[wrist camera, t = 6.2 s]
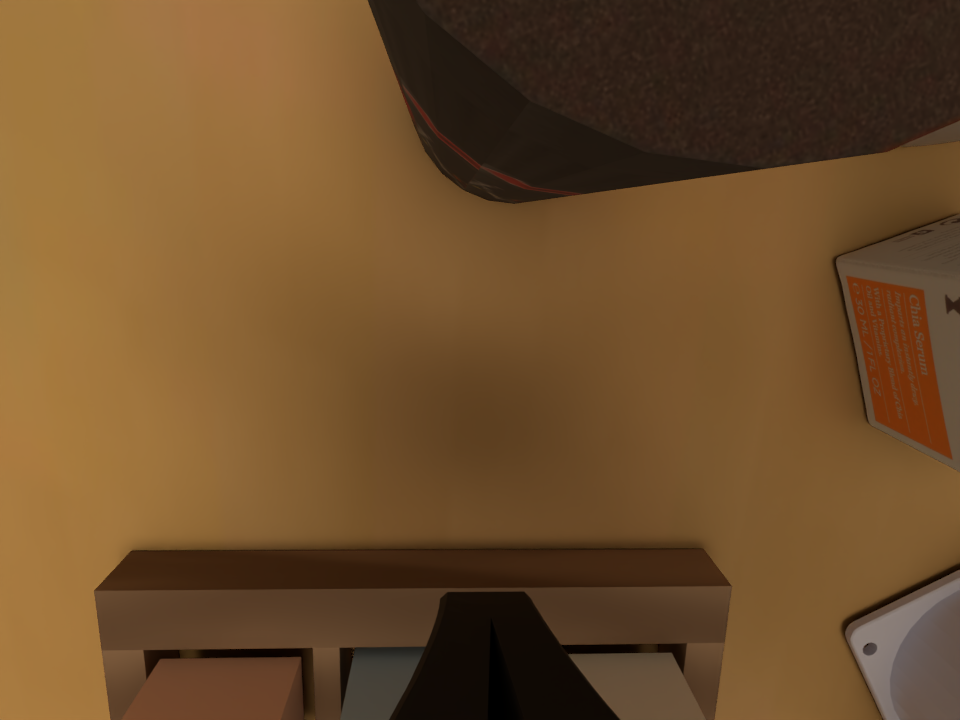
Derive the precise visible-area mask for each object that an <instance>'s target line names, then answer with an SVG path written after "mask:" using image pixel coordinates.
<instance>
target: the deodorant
mask: <svg viewBox="0 0 960 720" xmlns="http://www.w3.org/2000/svg"><path fill="white" fill-rule="evenodd" d="M368 2H369V5H370V8H371V10H372V13H373V16H374V18H375V21H376V24H377V26H378V29H379V32H380V35H381V37H382V40H383V43H384V45H385V48H386V51H387V54H388V56H389V59H390V62H391V64H392V67H393V70H394V72H395V75H396V78H397V81H398V83H399V86H400V89H401V91H402V94H403V97H404V99H405V102H406V105H407V108H408V110H409V113H410V116H411V118H412V121H413V124H414V126H415V129H416V131H417V133H418V136H419V138H420V140H421V143H422V145H423V147H424V150H425V152H426V153H427V154H428V155H429V157H430V158H431V159H432V161H433V162H434V163H435V165H436V166H437V167H438V169H439V170H440V171H441V172H442V174H444V175H445V176H446V177H447V178H449V179H450V180H451V181H453V182H454V183H455V184H456V185H458V186H459V187H460V188H462V189H463V190H465V191H467V192H469V193H472V194H474V195H477V196H479V197H481V198H484V199H486V200H490V201H498V202H506V203H513V204H515V203H522V202H529V201H536V200H544V199H551V198H558V197H565V196H572V195H580V194H587V193H594V192H601V191H608V190H616V189H623V188H630V187H637V186H644V185H652V184H659V183H666V182H673V181H680V180H688V179H695V178H702V177H709V176H716V175H724V174H731V173H738V172H745V171H752V170H760V169H767V168H774V167H781V166H788V165H796V164H803V163H810V162H817V161H824V160H832V159H839V158H846V157H853V156H860V155H868V154H875V153H882V152H888V151H890V150H892V149H895V148H897V147H899V146H902V145H904V144H906V143H909V142H911V141H913V140H916V139H918V138H921V137H923V136H925V135H928V134H930V133H932V132H935V131H937V130H939V129H942V128H944V127H946V126H949V125H951V124H953V123H956V122H958V121H960V0H368Z"/></svg>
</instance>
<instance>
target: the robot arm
mask: <svg viewBox="0 0 960 720" xmlns="http://www.w3.org/2000/svg"><path fill="white" fill-rule="evenodd" d="M845 636H846V639H847V642H848V644H849V646H850V648H851V650H852V652H853V655H854V657H855V659H856V661H857V663H858V665H859V668H860V670H861V672H862V674H863V676H864V678H865V681H866V683H867V685H868V687H869V689H870V692H871V694H872V696H873V698H874V700H875V702H876V705H877V707H878V709H879V711H880V713H881V715H882V718H883V720H960V570H958V571H956V572H954V573H952V574H950V575H947V576H945V577H943V578H941V579H939V580H937V581H935V582H933V583H931V584H929V585H927V586H925V587H923V588H921V589H919V590H917V591H915V592H913V593H911V594H909V595H907V596H905V597H903V598H900V599H898V600H896V601H894V602H892V603H890V604H888V605H886V606H884V607H882V608H880V609H878V610H876V611H874V612H872V613H870V614H868V615H866V616H864V617H862V618H860V619H858V620H856V621H854V622H852V623H851V624H849V626H848V627H847V629H846V632H845ZM867 643H869V645H867V646H866V647H864V646H865V645H866V644H867ZM389 720H620V718H619V717H618V716H617V715H616V714H615V713H614V712H613V710H612V709H611V708H610V707H609V706H608V705H607V703H606V702H605V701H604V700H603V699H602V697H601V696H600V695H599V694H598V693H597V691H596V690H595V689H594V688H593V686H592V685H591V684H590V683H589V681H588V680H587V679H586V677H585V676H584V675H583V673H582V672H581V671H580V670H579V668H578V667H577V666H576V664H575V663H574V662H573V661H572V659H571V658H570V657H569V655H568V654H567V652H566V651H565V650H564V648H563V647H562V645H561V644H560V643H559V641H558V640H557V638H556V637H555V635H554V634H553V632H552V631H551V630H550V628H549V627H548V625H547V624H546V622H545V621H544V619H543V617H542V616H541V614H540V613H539V611H538V609H537V608H536V606H535V605H534V603H533V601H532V599H531V598H530V597H529V596H528V595H527V594H526V593H525V592H524V591H510V592H447V593H446V594H445V595H444V596H442V597H441V598H440V604H439V609H438V613H437V617H436V620H435V623H434V626H433V629H432V632H431V635H430V637H429V640H428V642H427V645H426V647H425V650H424V652H423V654H422V656H421V658H420V660H419V663H418V665H417V667H416V669H415V671H414V673H413V676H412V678H411V680H410V682H409V684H408V686H407V688H406V690H405V692H404V693H403V695H402V697H401V699H400V701H399V702H398V704H397V706H396V708H395V710H394V711H393V713H392V715H391V717H390V719H389Z"/></svg>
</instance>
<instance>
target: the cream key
mask: <svg viewBox="0 0 960 720" xmlns="http://www.w3.org/2000/svg"><path fill="white" fill-rule="evenodd" d="M568 655H569V657H570V658H571V659H572V661H573V662H574V663H575V664H576V666H577V667H578V668H579V670H580V671H581V672H582V673H583V675H584V676H585V677H586V679H587V680H588V681H589V683H590V684H591V685H592V686H593V688H594V689H595V690H596V691H597V693H598V694H599V695H600V696H601V697H602V699H603V700H604V701H605V702H606V703H607V705H608V706H609V707H610V708H611V709H612V710H613V712H614V713H615V714H616V715H617V716H618V717H619V718H620V720H706V719H705V717H704V715H703V713H702V711H701V709H700V707H699V705H698V703H697V701H696V699H695V697H694V695H693V693H692V691H691V690H690V688H689V686H688V684H687V682H686V680H685V678H684V676H683V674H682V672H681V670H680V668H679V666H678V664H677V662H676V660H675V658H674V656H673V654H672V653H610V654H568Z"/></svg>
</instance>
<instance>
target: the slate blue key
mask: <svg viewBox="0 0 960 720" xmlns="http://www.w3.org/2000/svg"><path fill="white" fill-rule="evenodd" d="M424 650H425V647H355V651H354V656H353V661H352V665H351V670H350V675H349V680H348V684H347V689H346V694H345V699H344V703H343V708H342V713H341V718H340V720H389V719H390V717H391V715H392V713H393V711H394V710H395V708H396V706H397V704H398V702H399V701H400V699H401V697H402V695H403V693H404V692H405V690H406V688H407V686H408V684H409V682H410V680H411V678H412V676H413V673H414V671H415V669H416V667H417V665H418V663H419V660H420V658H421V656H422V654H423V652H424Z"/></svg>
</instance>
